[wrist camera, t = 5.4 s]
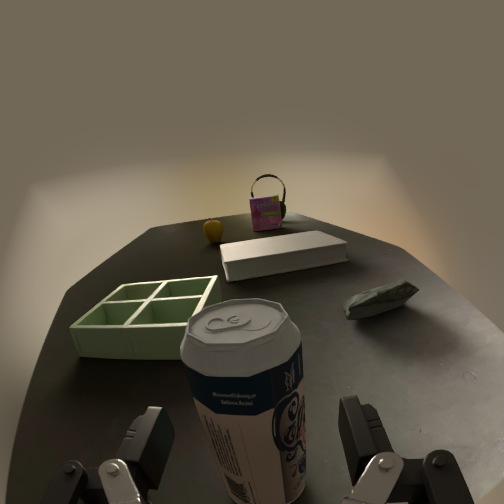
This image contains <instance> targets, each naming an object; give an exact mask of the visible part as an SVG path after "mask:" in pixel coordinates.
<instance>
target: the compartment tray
mask: <svg viewBox="0 0 504 504" xmlns="http://www.w3.org/2000/svg"><path fill="white" fill-rule="evenodd" d="M221 302H222V297H221V291H220V285H219V279H218V275H217V276H208V277H198V278H188V279H177V280H166V281H155V282H144V283H132V284H122V285H121V286H120V287H118V288H117V289H116V290H115V291H113V292H112V293H111V294H110V295H108V296H107V297H106V298H105V299H103V300H102V301H101V302H100V303H98V304H97V305H96V306H95V307H93V308H92V309H91V310H90V311H88V312H87V313H86V314H85V315H84V316H82V317H81V318H80V319H79V320H78V321H76V322H75V323H74V324H73V325H72V326H70V327H69V330H70V333H71V336H72V339H73V341H74V344H75V347H76V349H77V352H78V354H79V357H92V358H110V359H143V360H176V359H181V355H180V346H181V343H182V341H183V339H184V336H185V330H186V327H187V323H188V319H189V318H190V317H192V316H193V315H195V314H196V313H198V312H199V311H200V310H202V309H203V308H205V307H207V306H211V305H215V304H218V303H221Z"/></svg>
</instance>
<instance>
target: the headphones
mask: <svg viewBox="0 0 504 504" xmlns="http://www.w3.org/2000/svg"><path fill="white" fill-rule="evenodd" d="M263 177H274V178H277V179H278V180H280V179H279V178H278V177H276V176H274V175H270V174H266V175H262V176H260V177H258V178H257V179H256V181H258V180H259V179H260V178H263ZM256 181H255V182H256ZM280 181H281V180H280ZM255 182H254V183H253V185H254V184H255ZM281 183H282V184H283V182H282V181H281ZM253 185H252V188H253ZM283 186H284V184H283ZM252 188H251V196H252V198H254V196H253V192H252ZM285 194H286V191H285V186H284V193H283V199H282V201H279V203H280V211H281V220H282V219H283V218H284V217H285V214H286V206H285V204H284V202H285Z"/></svg>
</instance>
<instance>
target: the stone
mask: <svg viewBox="0 0 504 504" xmlns="http://www.w3.org/2000/svg"><path fill="white" fill-rule="evenodd" d="M418 291H419V289H418V288H416V287H415V286H414V285H412V284H410V283H408V282H407V281H405V280H400V281H397V282H395V283H392V284H389V285H386V286H382V287H378V288H374V289H371V290H367V291H364V292H361V293H359V294H356V295H355V296H352V297H350V298H349V299H348V300H346V301H345V302H344V303H343V306H344V312H345V313H346V314H345V315H346V316H347V320H355V319H359V318H363V317H370V316H374V315H376V314H379V313H382V312H385V311H388V310H391V309H394V308H397V307H399V306H401V305H403V304H404V303H405V302H406V301H407V300H408V299H409V298H411V297H412V296H413V295H414V294H415V293H416V292H418Z"/></svg>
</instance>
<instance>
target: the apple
mask: <svg viewBox="0 0 504 504" xmlns="http://www.w3.org/2000/svg"><path fill="white" fill-rule="evenodd" d="M203 233H204V235H205V237H206V238H207V239H208V240H209V241H210V242H212V243H218V242H219V241H221V239H222V235H223V227H222V224H221V223H220V222H219V221H217V220H210V218H209V221H207V222H206V223H205V224H204V226H203Z"/></svg>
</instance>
